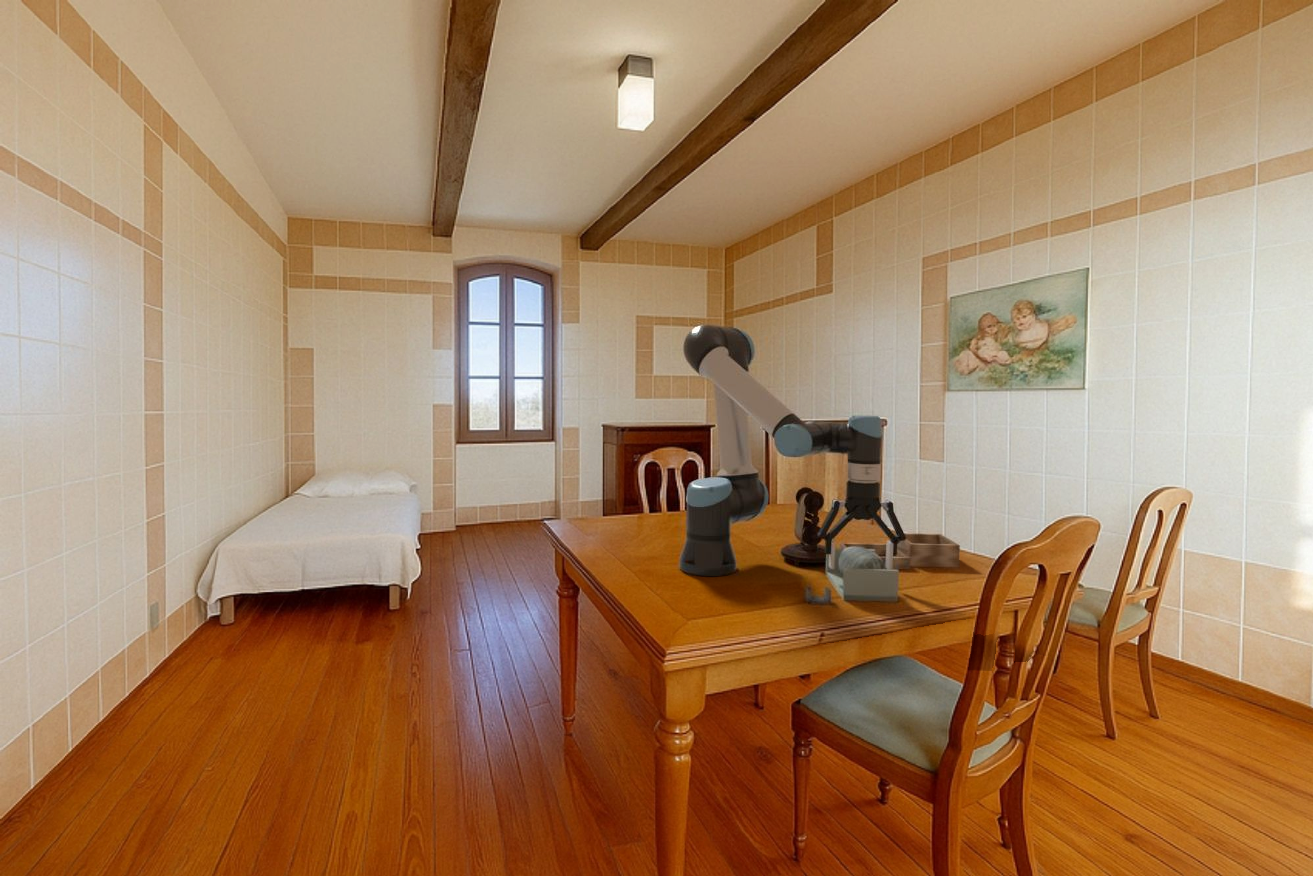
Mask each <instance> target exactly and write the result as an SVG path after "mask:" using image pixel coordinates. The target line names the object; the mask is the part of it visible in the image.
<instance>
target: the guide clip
mask: <svg viewBox="0 0 1313 876" xmlns="http://www.w3.org/2000/svg"><path fill="white" fill-rule="evenodd" d="M805 600H806V602H807V604H809V605H832V590H831V589H830V587H829V586H824V596H823V595H813V590H812V588H811V586H809V585H808V586H807V585H806V586H805Z"/></svg>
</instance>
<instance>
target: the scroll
mask: <svg viewBox="0 0 1313 876" xmlns="http://www.w3.org/2000/svg"><path fill="white" fill-rule="evenodd" d="M795 501H796V503H797V506H796V512H795V517H794V518H795V519H794V530H793V531H794V536H795V538H796V539H797V540H798V541H799V542H795V543H790V544H787V545H785V546H783V547H781V548H780V555H781V556H782V557H783V558H786V559H788V560H790V561H794V563H795V567H797V566H799V564H800V562H801V563H813V564H815V563H816V564H819V563H826V553H825V545H822V544H820V543H821V542H822V540H823V539H821V538H820V537H819V536H818V535H817V533H818V531H819V530H820V528H821V526H819V523H820V517H819V511H820V510H821V509H822V508H823V507H824V505H825V498H824V496H823V495H822V493H821V492H819V491H816V490H813V489H812V488H811V487H808V486H804V487H801V488H800V489H798V490H797V491H796V494H795Z"/></svg>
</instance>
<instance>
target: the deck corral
mask: <svg viewBox="0 0 1313 876" xmlns="http://www.w3.org/2000/svg"><path fill="white" fill-rule="evenodd" d="M851 546H857V547H863V548H866V549H874V550H876V554H877V555H878V556H879V557H880V558H881V559H882V560H883V563H884V567H885V569H887V568H886V543H866V542H865V543H864V542H862V543H860V542H859V543H858V542H839V543H838V548H840V549H845V548H847V547H851ZM910 567H911V566H910V558H909V557H908V556H907V555H905V554H904V553H903V552H901V551H900V550H899V549H898V548H897V555H896V556H893V564H892V570H910Z"/></svg>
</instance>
